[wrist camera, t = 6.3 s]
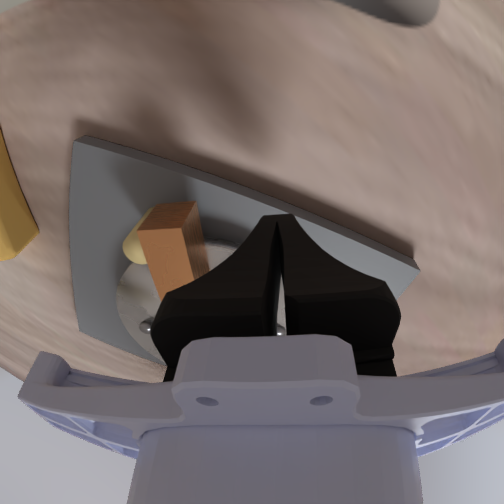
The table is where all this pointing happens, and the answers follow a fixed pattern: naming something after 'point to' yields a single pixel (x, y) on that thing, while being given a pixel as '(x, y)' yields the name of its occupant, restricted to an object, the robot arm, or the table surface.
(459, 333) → the table surface
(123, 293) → the flange plate
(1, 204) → the rubber stamp
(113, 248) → the base board
